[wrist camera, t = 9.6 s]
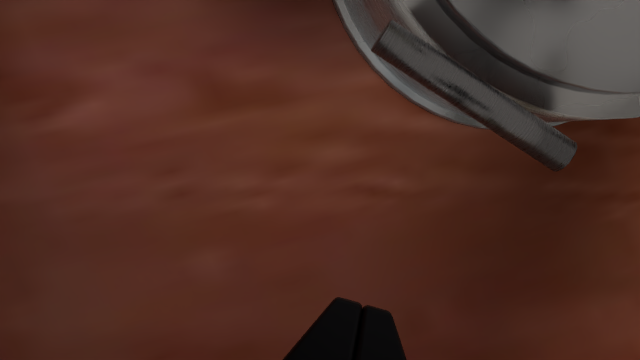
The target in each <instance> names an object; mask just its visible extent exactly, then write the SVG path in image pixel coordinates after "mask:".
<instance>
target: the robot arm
mask: <svg viewBox="0 0 640 360" xmlns="http://www.w3.org/2000/svg"><path fill="white" fill-rule="evenodd" d="M283 360H406V357H405V354H404V350H403V347H402V344H401V341H400V338H399V335H398V332H397V329H396V326H395V323H394V319H393V317H392V315H391V313H390V312H389V311H387V310H383V309H380V308H376V307H373V306H369V305H366V306H364V307H363V309H362V305H361V304H360V303H358V302H355V301H351V300H348V299H344V298H341V297H337V298H335V299H334V300H333V301H332V302H331V303H330V304H329V306H328V307H327V308H326V309H325V310H324V311H323V313H322V314H321V315H320V316H319V317H318V319H317V320H316V321H315V322H314V323H313V324H312V326H311V327H310V328H309V329H308V330H307V332H306V333H305V334H304V335H303V336H302V337H301V339H300V340H299V341H298V342H297V343H296V344H295V346H294V347H293V348H292V349H291V350H290V352H289V353H288V354H287V355H286V356H285V357H284V359H283Z"/></svg>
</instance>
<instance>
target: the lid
mask: <svg viewBox="0 0 640 360" xmlns="http://www.w3.org/2000/svg"><path fill="white" fill-rule="evenodd" d="M435 1H436V2H437V3H438V5H439V6H440V7H441V9H442V10H443V11H444V12H445V14H446V15H447V16H448V17H449V18H450V19H451V20H452V21H453V22H454V23H455V24H456V26H457V27H458V28H459V29H460V30H461V31H462V32H463V33H464V34H465V35H466V36H467V37H468V38H469V39H471V40H472V41H473V42H474V43H476V44H477V45H478V46H480V47H481V48H482V49H483V50H485V51H486V52H487V53H489V54H490V55H491V56H492V57H494V58H495V59H497V60H499V61H501V62H502V63H504V64H506V65H507V66H509V67H511V68H513V69H514V70H516V71H518V72H519V73H522V74H524V75H526V76H529V77H531V78H534V79H536V80H539V81H541V82H543V83H546V84H549V85H552V86H556V87H560V88H564V89H568V90H572V91H576V92H584V93H592V94H601V95H623V94H640V0H435ZM371 52H373V53H375V54H376V55H378V56H379V57H381V58H382V59H384V60H385V61H387V62H388V63H390V64H391V65H393V66H394V67H396V68H397V69H399V70H400V71H402V72H403V73H405V74H406V75H408V76H410V77H411V78H413V79H414V80H416V81H417V82H419V83H420V84H422V85H423V86H425V87H426V88H428V89H429V90H431V91H432V92H434V93H435V94H437V95H438V96H440V97H441V98H443V99H445V100H446V101H448V102H449V103H451V104H452V105H454V106H455V107H457V108H458V109H460V110H461V111H463V112H464V113H466V114H467V115H469V116H470V117H472V118H473V119H475V120H476V121H478V122H480V123H481V124H483V125H484V126H486V127H487V128H489V129H490V130H492V131H493V132H495V133H496V134H498V135H499V136H501V137H502V138H504V139H505V140H507V141H508V142H510V143H511V144H513V145H515V146H516V147H518V148H519V149H521V150H522V151H524V152H525V153H527V154H528V155H530V156H531V157H533V158H534V159H536V160H537V161H539V162H540V163H542V164H543V165H545V166H546V167H548V168H550V169H551V170H553V171H559V170H561V169H563V168H564V167H565V166H566V165H567V164H568V163H569V162H570V161H571V159H572V158H573V156H574V155H575V152H576V150H577V143H576V142H574V141H573V140H571V139H570V138H568V137H567V136H565V135H564V134H562V133H561V132H560V131H558V130H557V129H555V128H554V127H552V126H551V125H549V124H548V123H546V122H545V121H543V120H542V119H540V118H539V117H537V116H536V115H534V114H533V113H531V112H530V111H528V110H527V109H525V108H524V107H522V106H521V105H519V104H518V103H516V102H515V101H513V100H512V99H510V98H509V97H507V96H506V95H504V94H503V93H501V92H500V91H498V90H497V89H495V88H494V87H492V86H491V85H489V84H488V83H486V82H485V81H483V80H482V79H480V78H479V77H477V76H476V75H474V74H473V73H471V72H470V71H468V70H467V69H465V68H464V67H462V66H461V65H459V64H458V63H456V62H455V61H453V60H452V59H450V58H449V57H447V56H446V55H444V54H443V53H441V52H440V51H438V50H437V49H435V48H434V47H432V46H431V45H429V44H428V43H426V42H425V41H423V40H422V39H420V38H419V37H417V36H416V35H414V34H413V33H411V32H410V31H408V30H407V29H405V28H404V27H402V26H401V25H399V24H398V23H396V22H395V21H393V20H392V19H391V20H390V21H389V22H388V24H387V25H386V26H385V28H384V29H383V31H382V32H381V34H380V35H379V37H378V39H377V40H376V42H375V44H374V45H373V47H372V49H371Z"/></svg>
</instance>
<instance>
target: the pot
mask: <svg viewBox="0 0 640 360" xmlns="http://www.w3.org/2000/svg"><path fill="white" fill-rule="evenodd" d="M332 1H333V4H334V6H335V9H336V11H337V13H338V16H339V18H340V20H341V22H342V25H343V27H344V29H345V31H346V32H347V34H348V36H349V37H350V39H351V41H352V42H353V44H354V46H355V47H356V49H357V50H358V52H359V53H360V54H361V55H362V57H363V58H364V59H365V61H366V62H367V63H368V64H369V66H370V67H371V68H372V69H373V70H374V71H375V72H376V73H377V74H378V75H379V76H380V77H381V78H382V79H383V80H384V81H385V82H386V83H387V84H388V85H389V86H390V87H391V88H392V89H394V90H395V91H396V92H398V93H399V94H400V95H402V96H403V97H404V98H406V99H407V100H408V101H410V102H411V103H413V104H415V105H417V106H419V107H420V108H422V109H424V110H426V111H428V112H429V113H431V114H433V115H436V116H439V117H441V118H444V119H446V120H449V121H451V122H454V123H458V124H462V125H466V126H470V127H474V128H480V129H489V128H487V127H486V126H484V125H483V124H481V123H480V122H478V121H476V120H475V119H473V118H472V117H470V116H469V115H467V114H466V113H464V112H463V111H461V110H460V109H458V108H457V107H455V106H454V105H452V104H451V103H449V102H448V101H446V100H445V99H443V98H441V97H440V96H438V95H437V94H435V93H434V92H432V91H431V90H429V89H428V88H426V87H425V86H423V85H422V84H420V83H419V82H417V81H416V80H414V79H413V78H411V77H410V76H408V75H406V74H405V73H403V72H402V71H400V70H399V69H397V68H396V67H394V66H393V65H391V64H390V63H388V62H387V61H385V60H384V59H382V58H381V57H379V56H378V55H376V54H375V53H373V52H371V49H372V47H373V45H374V44H375V42H376V40H377V39H378V37H379V35H380V34H381V32H382V31H383V29H384V28H385V26H386V25H387V24H388V22H389V21H390V20H391V19H392V20H393V21H395V22H396V23H398V24H399V25H401V26H402V27H404V28H405V29H407V30H408V31H410V32H411V33H413V34H414V35H416V36H417V37H419V38H420V39H422V40H423V41H425V42H426V43H428V44H429V45H431V46H432V47H434V48H435V49H437V50H438V51H440V52H441V53H443V54H444V55H446V56H447V57H449V58H450V59H452V60H453V61H455V62H456V63H458V64H459V65H461V66H462V67H464V68H465V69H467V70H468V71H470V72H471V73H473V74H474V75H476V76H477V77H479V78H480V79H482V80H483V81H485V82H486V83H488V84H489V85H491V86H492V87H494V88H495V89H497V90H498V91H500V92H501V93H503V94H504V95H506V96H507V97H509V98H510V99H512V100H513V101H515V102H516V103H518V104H519V105H521V106H522V107H524V108H525V109H527V110H528V111H530V112H531V113H533V114H534V115H536V116H537V117H539V118H540V119H542V120H543V121H545V122H546V123H548V124H549V125H551V126H556V125H559V124H562V123H565V122H569V121H586V120H604V119H623V118H636V117H640V94H623V95H601V94H592V93H584V92H576V91H572V90H568V89H564V88H560V87H556V86H552V85H549V84H546V83H543V82H541V81H539V80H536V79H534V78H531V77H529V76H526V75H524V74H522V73H519V72H518V71H516V70H514V69H513V68H511V67H509V66H507V65H506V64H504V63H502V62H501V61H499V60H497V59H495V58H494V57H492V56H491V55H490V54H489V53H487V52H486V51H485V50H483V49H482V48H481V47H480V46H478V45H477V44H476V43H474V42H473V41H472V40H471V39H469V38H468V37H467V36H466V35H465V34H464V33H463V32H462V31H461V30H460V29H459V28H458V27H457V26H456V24H455V23H454V22H453V21H452V20H451V19H450V18H449V17H448V16H447V15H446V14H445V12H444V11H443V10H442V9H441V7H440V6H439V5H438V3H437V2H436V1H435V0H332ZM489 130H490V129H489Z"/></svg>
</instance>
